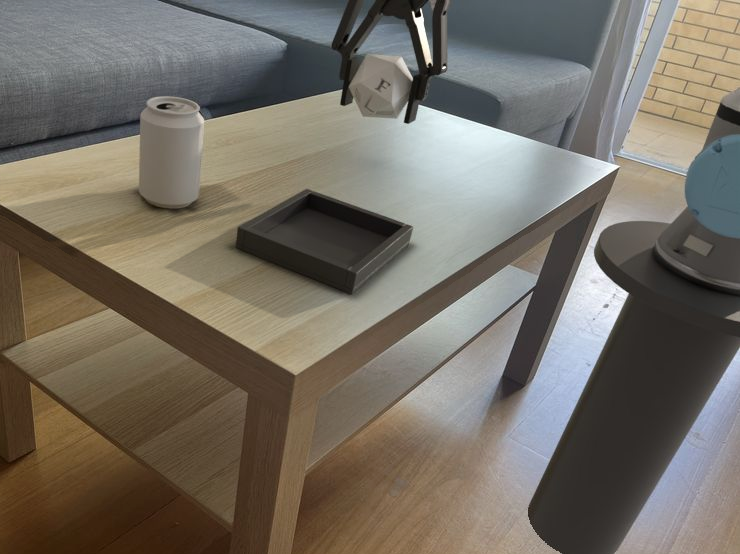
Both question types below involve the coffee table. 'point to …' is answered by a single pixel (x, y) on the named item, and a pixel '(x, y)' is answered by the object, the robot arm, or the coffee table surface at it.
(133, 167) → the coffee table surface
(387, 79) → the die
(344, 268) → the dark grey shallow tray
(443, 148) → the coffee table surface
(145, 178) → the can
